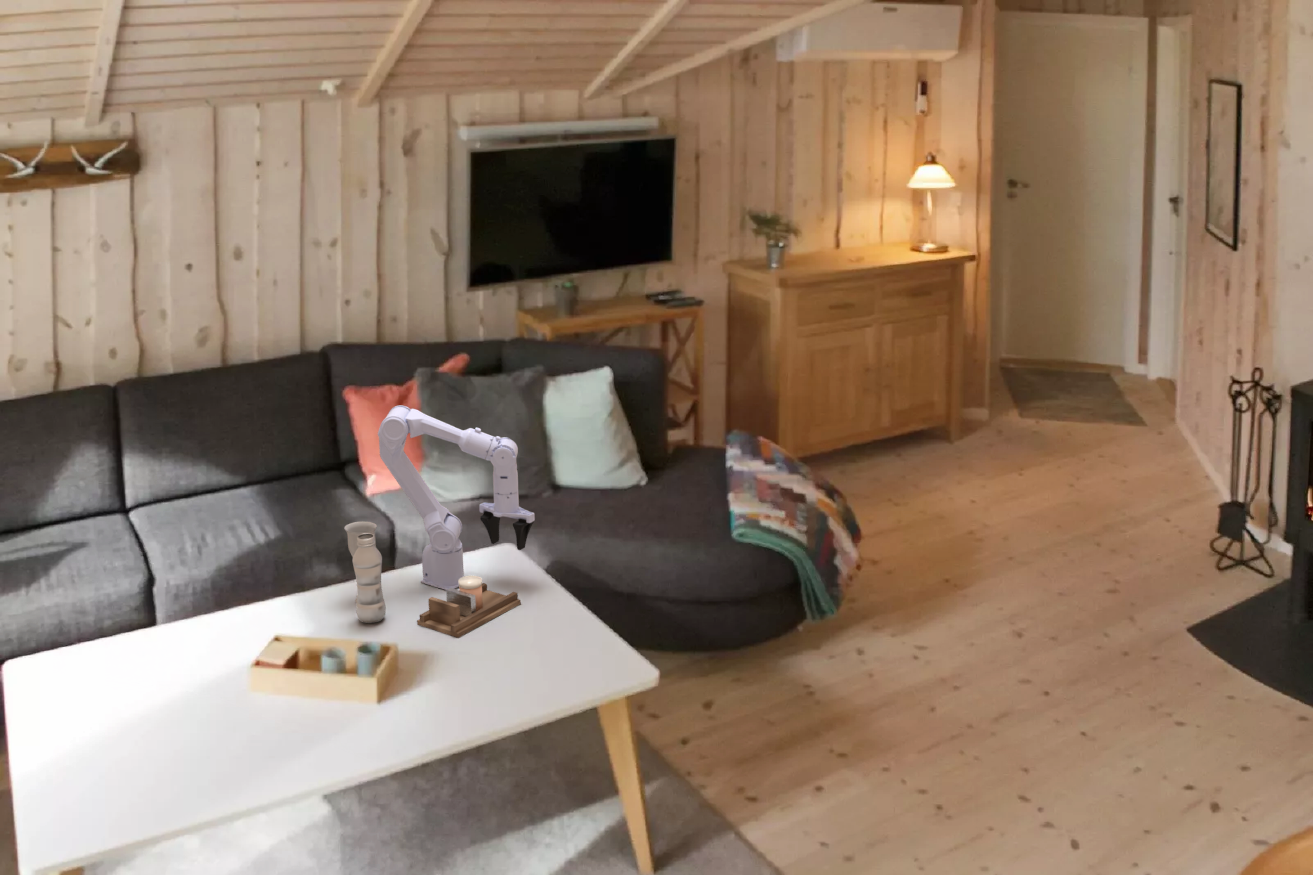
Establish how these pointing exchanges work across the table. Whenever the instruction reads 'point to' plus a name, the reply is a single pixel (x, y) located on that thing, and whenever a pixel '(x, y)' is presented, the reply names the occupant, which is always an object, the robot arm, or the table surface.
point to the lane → (454, 624)
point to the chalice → (355, 531)
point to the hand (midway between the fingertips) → (508, 545)
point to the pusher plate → (462, 601)
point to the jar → (472, 588)
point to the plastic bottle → (368, 580)
